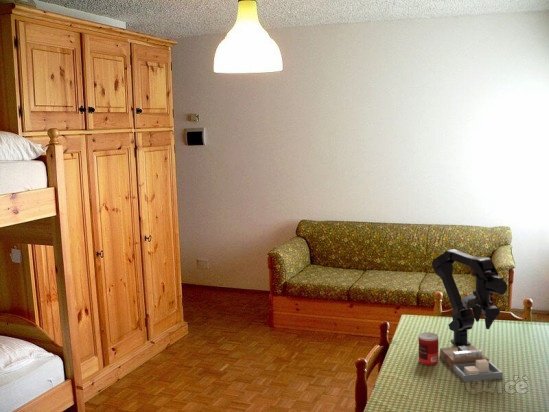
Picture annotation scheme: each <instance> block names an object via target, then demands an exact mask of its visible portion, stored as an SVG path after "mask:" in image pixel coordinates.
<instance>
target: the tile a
mask: <svg viewBox="0 0 549 412" xmlns="http://www.w3.org/2000/svg"><path fill="white" fill-rule="evenodd" d="M464 373H465V374H477V373H479V370H478V369H477V368H476V367H475V366H469V367H464Z"/></svg>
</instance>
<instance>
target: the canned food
mask: <svg viewBox="0 0 549 412" xmlns="http://www.w3.org/2000/svg"><path fill="white" fill-rule="evenodd" d="M418 361H420V362H421V363H423V364H426V365H425V366H435V365H437V364H438V363H439V335H438V334H437V333H434V332H427V331H426V332H421V333H419V334H418ZM420 362H419V363H420ZM421 363H420V364H421ZM423 364H422V365H423Z"/></svg>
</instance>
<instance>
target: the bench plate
mask: <svg viewBox="0 0 549 412" xmlns="http://www.w3.org/2000/svg"><path fill="white" fill-rule="evenodd" d="M465 346H466V347H467V348H468V349H469V350H478V348H476V347H475V346H474V345H465ZM439 349H440V350H439V356H440V358H441V359H442V360H443V361H444V362H445V363H446V364H447V365H448V366H449V367H450V368H451V369H452V370H453V365H455V364H467V363H476V360H483V359H486V360H487V361H488V362H490V361H489V360H490V359H489V358H488V357H487V356H485V354H483V353H482V358H470V359H458V360H455V359H454V358H453V352H458V346H452V347H441V348H439Z"/></svg>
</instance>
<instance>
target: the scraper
mask: <svg viewBox="0 0 549 412" xmlns="http://www.w3.org/2000/svg"><path fill="white" fill-rule="evenodd" d="M466 346H467V345H462V346H457V347H458V352H453V358H454V359H455V360H458V359H470V358H482V354H483V351H482V350H481V349H477V350H469V349H468V348H467V347H466Z"/></svg>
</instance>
